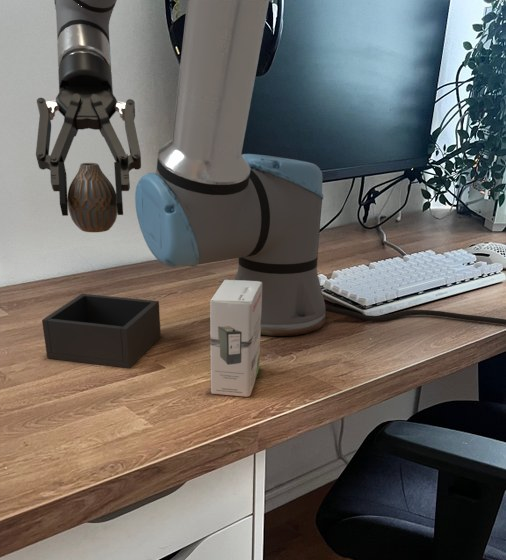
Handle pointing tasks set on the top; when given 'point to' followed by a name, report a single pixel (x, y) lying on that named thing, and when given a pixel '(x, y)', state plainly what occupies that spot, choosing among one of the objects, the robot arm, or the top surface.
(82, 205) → the vase
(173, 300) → the top surface
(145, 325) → the box
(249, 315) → the ink box
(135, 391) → the top surface
